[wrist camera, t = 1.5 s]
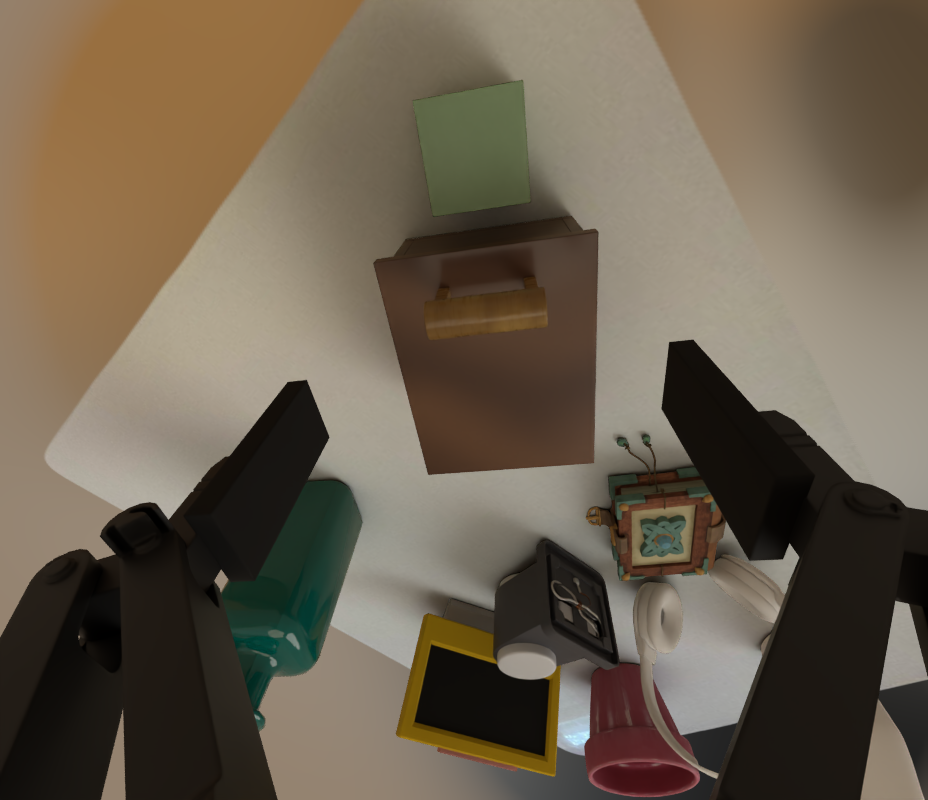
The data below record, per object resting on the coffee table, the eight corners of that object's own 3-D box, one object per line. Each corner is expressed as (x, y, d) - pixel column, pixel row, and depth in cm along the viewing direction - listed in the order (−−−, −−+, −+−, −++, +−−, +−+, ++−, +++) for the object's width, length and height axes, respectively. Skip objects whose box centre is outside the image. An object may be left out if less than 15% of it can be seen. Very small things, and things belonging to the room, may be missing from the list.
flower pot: (576, 698, 73) (590, 798, 62) (571, 655, 65) (585, 760, 55) (665, 696, 71) (696, 799, 60) (670, 651, 63) (706, 760, 52)
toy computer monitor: (558, 630, 62) (575, 769, 49) (531, 654, 66) (540, 788, 53) (430, 588, 58) (411, 726, 45) (409, 616, 62) (386, 750, 49)
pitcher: (347, 476, 48) (255, 703, 29) (367, 528, 52) (298, 752, 34) (265, 481, 49) (126, 702, 30) (291, 531, 53) (184, 749, 35)
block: (426, 103, 28) (412, 100, 23) (517, 86, 28) (523, 79, 23) (442, 201, 32) (432, 217, 27) (524, 188, 31) (530, 202, 26)
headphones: (606, 584, 55) (655, 785, 39) (754, 528, 48) (892, 745, 32) (633, 610, 58) (689, 809, 41) (776, 561, 51) (913, 777, 34)
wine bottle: (786, 616, 57) (1016, 1009, 32) (850, 629, 58) (1125, 1023, 33) (743, 651, 62) (912, 1013, 37) (803, 663, 63) (1008, 1025, 38)
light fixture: (474, 576, 57) (467, 664, 48) (548, 533, 50) (556, 626, 42) (533, 609, 60) (536, 698, 52) (609, 573, 54) (627, 668, 45)
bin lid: (376, 258, 25) (348, 292, 21) (595, 228, 24) (621, 257, 19) (429, 468, 34) (418, 525, 29) (592, 456, 33) (609, 515, 28)
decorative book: (722, 423, 41) (748, 458, 37) (706, 543, 50) (726, 582, 46) (578, 441, 43) (587, 476, 39) (589, 554, 52) (597, 591, 48)
